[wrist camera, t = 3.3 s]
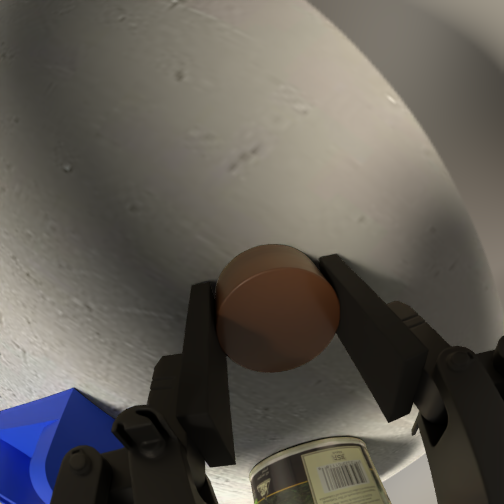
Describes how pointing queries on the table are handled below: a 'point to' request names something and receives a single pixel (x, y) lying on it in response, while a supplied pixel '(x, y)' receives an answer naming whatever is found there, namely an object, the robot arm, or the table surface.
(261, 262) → the brown short cylinder
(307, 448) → the coffee can
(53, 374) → the table surface
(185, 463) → the robot arm
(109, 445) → the bracket
